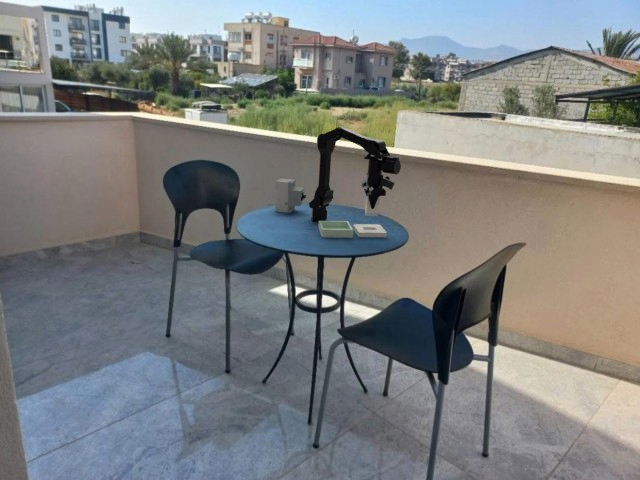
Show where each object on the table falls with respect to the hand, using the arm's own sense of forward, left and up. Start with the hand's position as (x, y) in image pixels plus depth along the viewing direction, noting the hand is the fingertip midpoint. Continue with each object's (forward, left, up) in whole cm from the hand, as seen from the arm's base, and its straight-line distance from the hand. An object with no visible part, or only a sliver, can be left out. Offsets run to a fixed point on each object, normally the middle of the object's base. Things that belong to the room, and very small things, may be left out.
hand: (371, 207), depth 187 cm
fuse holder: (0, 0, -11) cm, 11 cm away
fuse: (0, 0, -3) cm, 3 cm away
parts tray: (-15, 0, -11) cm, 19 cm away
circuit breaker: (-32, +35, -12) cm, 49 cm away
